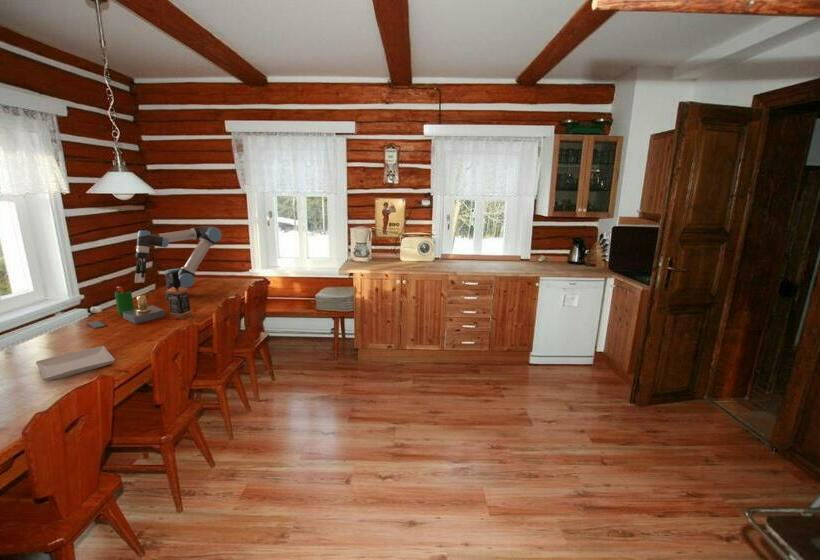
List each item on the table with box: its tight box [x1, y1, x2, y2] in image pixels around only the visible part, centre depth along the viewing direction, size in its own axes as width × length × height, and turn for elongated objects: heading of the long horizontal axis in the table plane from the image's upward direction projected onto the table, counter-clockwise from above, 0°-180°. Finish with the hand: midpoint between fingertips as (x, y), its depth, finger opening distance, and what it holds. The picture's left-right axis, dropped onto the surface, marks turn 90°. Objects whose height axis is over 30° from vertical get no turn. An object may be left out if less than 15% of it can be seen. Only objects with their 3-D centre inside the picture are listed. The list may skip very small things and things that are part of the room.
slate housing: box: [122, 304, 166, 325], centre depth 260 cm, size 18×18×6 cm
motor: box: [114, 286, 135, 316], centre depth 270 cm, size 10×9×20 cm
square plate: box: [35, 345, 116, 381], centre depth 194 cm, size 27×27×4 cm
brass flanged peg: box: [136, 295, 151, 313], centre depth 258 cm, size 8×8×15 cm
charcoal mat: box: [86, 319, 109, 330], centre depth 252 cm, size 14×14×1 cm
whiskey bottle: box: [166, 272, 193, 321], centre depth 261 cm, size 10×10×32 cm
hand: (139, 282), depth 271 cm, fingers open, 13 cm apart
